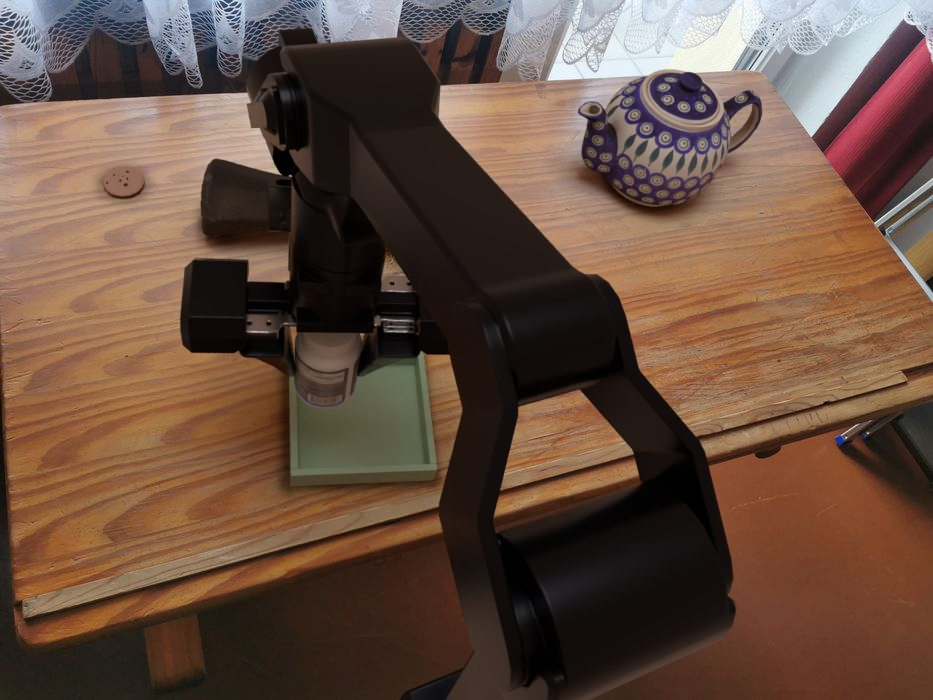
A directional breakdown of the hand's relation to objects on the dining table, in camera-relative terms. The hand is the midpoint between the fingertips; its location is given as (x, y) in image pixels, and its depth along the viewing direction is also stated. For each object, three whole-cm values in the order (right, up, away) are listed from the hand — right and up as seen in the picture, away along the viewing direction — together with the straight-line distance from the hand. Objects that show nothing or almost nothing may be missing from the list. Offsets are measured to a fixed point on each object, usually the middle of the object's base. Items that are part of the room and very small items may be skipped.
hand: (326, 371), depth 58 cm
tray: (+1, -5, +11) cm, 12 cm away
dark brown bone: (-2, +13, +22) cm, 26 cm away
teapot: (+32, +23, +37) cm, 54 cm away
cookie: (-24, +18, +20) cm, 36 cm away
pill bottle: (0, -1, +2) cm, 2 cm away
